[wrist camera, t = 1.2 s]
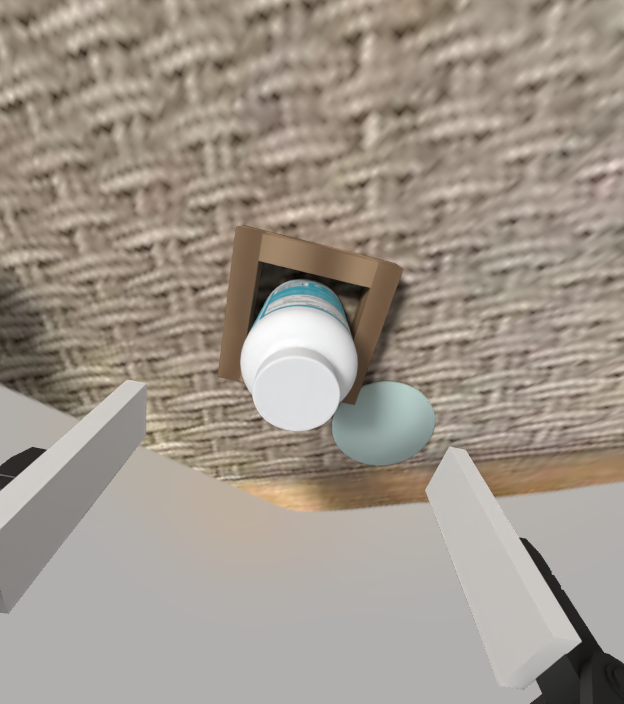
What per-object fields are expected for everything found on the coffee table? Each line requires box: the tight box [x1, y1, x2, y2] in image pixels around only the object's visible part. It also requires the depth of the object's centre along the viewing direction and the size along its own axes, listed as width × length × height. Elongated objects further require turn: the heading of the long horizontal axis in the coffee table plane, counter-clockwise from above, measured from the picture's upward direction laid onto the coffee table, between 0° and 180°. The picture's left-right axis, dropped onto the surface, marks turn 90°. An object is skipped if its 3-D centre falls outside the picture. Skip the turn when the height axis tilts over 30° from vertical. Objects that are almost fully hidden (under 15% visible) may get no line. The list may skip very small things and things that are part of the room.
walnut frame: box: [218, 225, 403, 405], centre depth 27 cm, size 13×13×3 cm
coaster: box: [332, 381, 435, 465], centre depth 33 cm, size 11×11×1 cm
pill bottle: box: [240, 279, 358, 431], centre depth 22 cm, size 8×7×14 cm
